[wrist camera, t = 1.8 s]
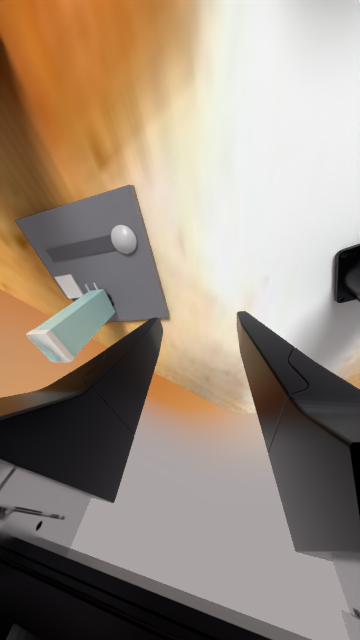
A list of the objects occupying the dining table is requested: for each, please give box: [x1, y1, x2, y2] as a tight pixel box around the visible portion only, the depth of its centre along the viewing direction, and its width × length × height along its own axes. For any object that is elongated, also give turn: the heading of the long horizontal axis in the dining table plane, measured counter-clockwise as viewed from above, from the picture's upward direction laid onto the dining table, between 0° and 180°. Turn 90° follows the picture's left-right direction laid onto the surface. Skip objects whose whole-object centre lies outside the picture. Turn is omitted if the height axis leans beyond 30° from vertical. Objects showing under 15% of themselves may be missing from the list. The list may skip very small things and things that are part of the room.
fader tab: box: [26, 289, 115, 362], centre depth 21 cm, size 3×4×11 cm, turn 11°
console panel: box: [15, 185, 169, 322], centre depth 22 cm, size 16×16×1 cm
